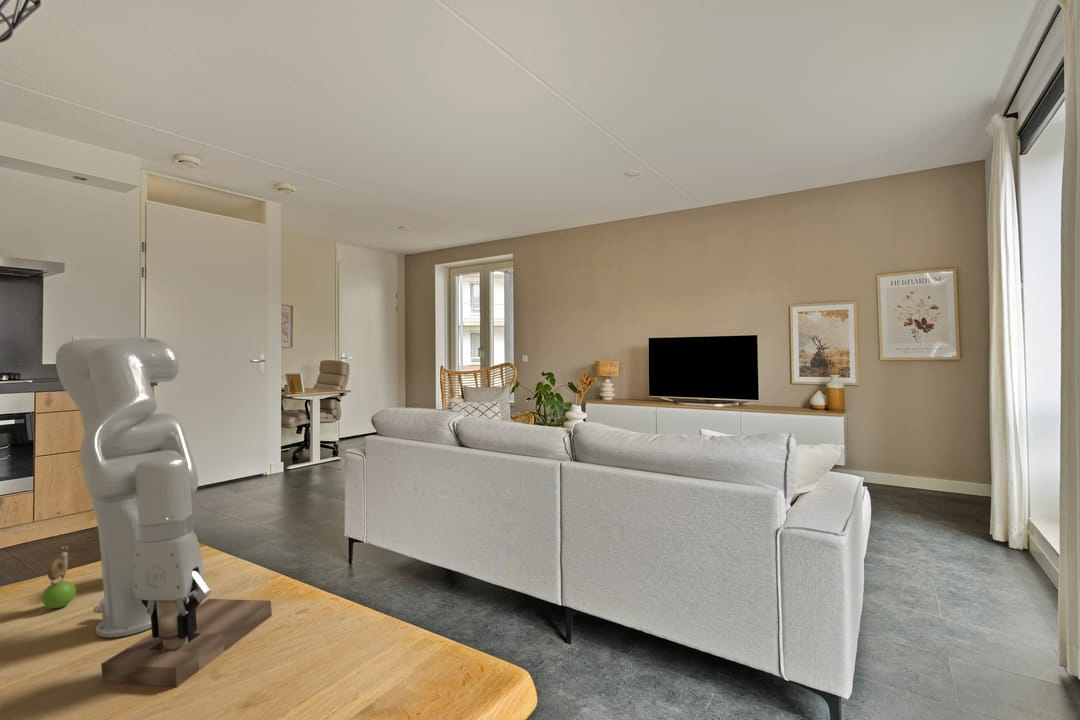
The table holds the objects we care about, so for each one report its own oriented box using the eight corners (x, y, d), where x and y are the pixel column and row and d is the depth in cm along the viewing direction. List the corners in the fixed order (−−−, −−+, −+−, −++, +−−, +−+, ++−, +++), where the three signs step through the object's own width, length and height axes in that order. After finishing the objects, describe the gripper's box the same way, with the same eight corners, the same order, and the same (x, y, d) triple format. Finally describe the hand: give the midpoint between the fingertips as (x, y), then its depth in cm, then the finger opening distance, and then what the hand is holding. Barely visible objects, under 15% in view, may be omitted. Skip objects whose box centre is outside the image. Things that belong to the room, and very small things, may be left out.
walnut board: (102, 682, 85) (101, 663, 85) (210, 613, 107) (209, 598, 107) (177, 686, 83) (175, 668, 83) (271, 615, 105) (270, 600, 104)
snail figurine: (84, 596, 119) (80, 544, 118) (68, 609, 112) (64, 554, 112) (54, 602, 117) (50, 548, 117) (37, 615, 111) (32, 558, 111)
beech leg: (153, 656, 89) (148, 598, 89) (176, 641, 94) (171, 586, 93) (176, 657, 88) (171, 598, 88) (198, 642, 93) (193, 586, 93)
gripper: (104, 537, 88) (112, 644, 89) (191, 537, 85) (200, 648, 86) (145, 522, 96) (152, 621, 96) (226, 521, 93) (234, 624, 93)
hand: (175, 633), depth 91 cm, fingers closed on beech leg, 4 cm apart
